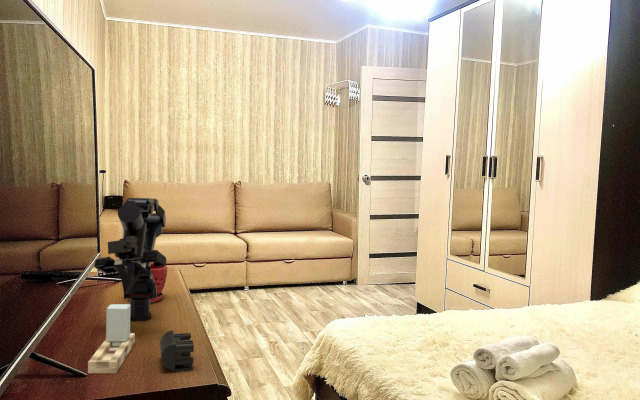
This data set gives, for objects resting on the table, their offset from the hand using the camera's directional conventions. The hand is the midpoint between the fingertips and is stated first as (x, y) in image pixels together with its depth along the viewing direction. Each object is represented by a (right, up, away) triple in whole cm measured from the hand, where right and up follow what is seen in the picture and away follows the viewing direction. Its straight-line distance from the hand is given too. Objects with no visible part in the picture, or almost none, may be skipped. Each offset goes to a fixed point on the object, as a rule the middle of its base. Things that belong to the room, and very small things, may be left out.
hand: (126, 292), depth 140 cm
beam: (+2, -13, -13) cm, 19 cm away
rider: (+1, -12, -8) cm, 14 cm away
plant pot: (-8, -10, +40) cm, 42 cm away
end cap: (+17, -15, -15) cm, 27 cm away
